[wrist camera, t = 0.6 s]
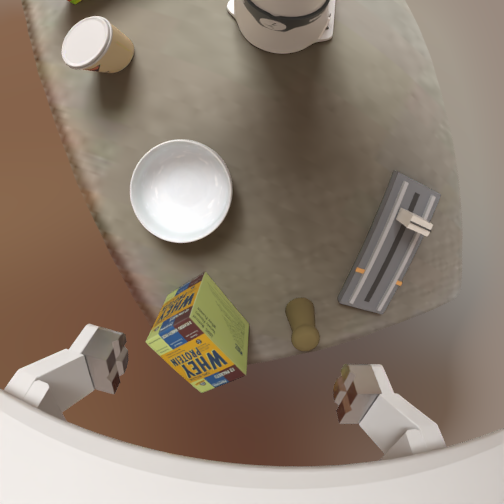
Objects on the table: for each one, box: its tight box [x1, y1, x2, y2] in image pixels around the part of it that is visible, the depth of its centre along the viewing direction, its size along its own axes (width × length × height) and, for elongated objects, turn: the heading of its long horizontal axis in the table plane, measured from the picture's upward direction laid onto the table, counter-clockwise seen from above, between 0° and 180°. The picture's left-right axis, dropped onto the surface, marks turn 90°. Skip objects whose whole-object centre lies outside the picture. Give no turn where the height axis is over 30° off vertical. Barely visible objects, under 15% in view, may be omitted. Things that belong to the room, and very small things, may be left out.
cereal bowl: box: [130, 139, 233, 243], centre depth 48 cm, size 17×17×7 cm
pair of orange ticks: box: [355, 267, 402, 286], centre depth 55 cm, size 1×11×1 cm, turn 72°
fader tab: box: [396, 208, 433, 237], centre depth 48 cm, size 2×5×5 cm, turn 72°
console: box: [338, 171, 441, 314], centre depth 53 cm, size 28×11×3 cm, turn 162°
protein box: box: [146, 272, 249, 393], centre depth 54 cm, size 10×15×16 cm
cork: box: [285, 298, 320, 351], centre depth 56 cm, size 6×6×11 cm
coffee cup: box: [62, 16, 134, 73], centre depth 35 cm, size 9×9×12 cm
